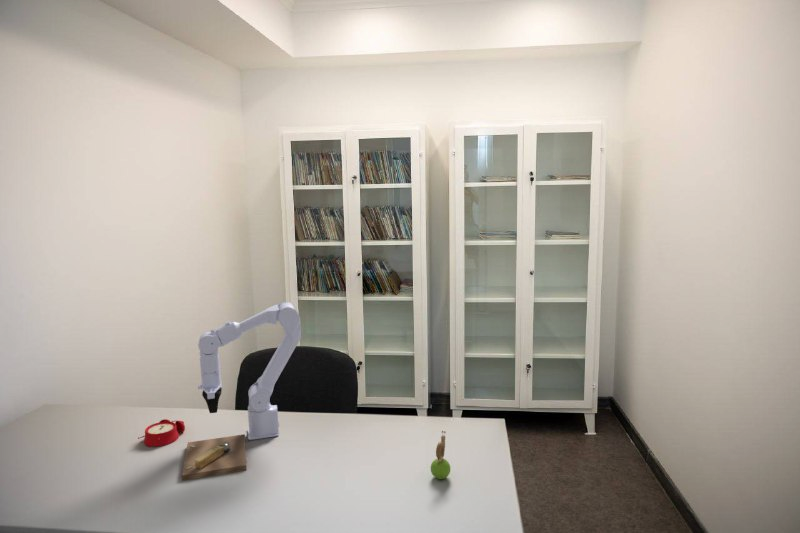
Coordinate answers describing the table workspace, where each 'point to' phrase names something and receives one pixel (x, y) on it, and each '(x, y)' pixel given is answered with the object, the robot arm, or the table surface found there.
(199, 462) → the tan wooden bar
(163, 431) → the alarm clock
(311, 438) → the table surface
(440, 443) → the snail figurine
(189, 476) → the plate
